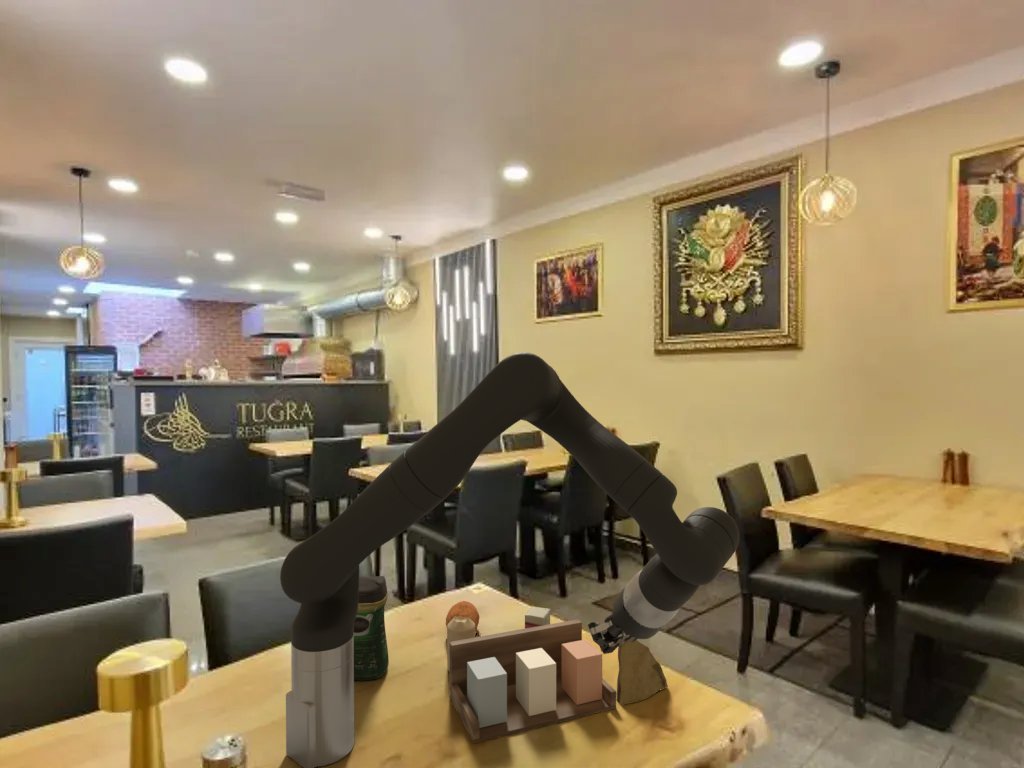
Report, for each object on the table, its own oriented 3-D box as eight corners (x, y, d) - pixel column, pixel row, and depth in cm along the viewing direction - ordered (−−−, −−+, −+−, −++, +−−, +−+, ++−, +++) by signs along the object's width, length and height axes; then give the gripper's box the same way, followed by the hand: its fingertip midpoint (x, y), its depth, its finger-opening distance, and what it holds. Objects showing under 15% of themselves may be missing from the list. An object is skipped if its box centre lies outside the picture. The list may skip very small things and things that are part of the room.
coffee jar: (391, 661, 117) (391, 570, 116) (383, 682, 109) (383, 584, 109) (343, 662, 117) (343, 570, 116) (332, 683, 109) (331, 585, 108)
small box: (531, 641, 126) (531, 605, 125) (550, 644, 124) (550, 608, 124) (524, 652, 121) (524, 614, 121) (543, 655, 119) (543, 617, 119)
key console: (616, 708, 101) (616, 651, 100) (473, 743, 91) (473, 680, 91) (578, 669, 114) (578, 619, 113) (449, 697, 104) (449, 642, 104)
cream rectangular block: (556, 709, 99) (556, 663, 99) (529, 716, 97) (529, 668, 97) (541, 691, 104) (541, 647, 104) (515, 697, 102) (515, 652, 102)
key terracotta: (602, 698, 102) (602, 653, 102) (576, 704, 100) (577, 659, 100) (585, 681, 108) (585, 639, 107) (561, 687, 106) (561, 643, 106)
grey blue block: (506, 721, 95) (506, 673, 95) (478, 728, 94) (478, 679, 93) (494, 702, 101) (494, 656, 101) (467, 708, 99) (467, 662, 99)
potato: (441, 647, 123) (441, 614, 123) (451, 621, 136) (451, 591, 136) (474, 648, 122) (474, 615, 122) (482, 622, 135) (482, 592, 135)
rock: (664, 663, 112) (612, 654, 112) (675, 641, 106) (620, 632, 107) (668, 723, 103) (612, 713, 104) (680, 702, 98) (621, 692, 98)
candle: (477, 661, 117) (477, 612, 117) (472, 676, 111) (472, 624, 111) (450, 660, 117) (450, 611, 117) (444, 674, 112) (444, 623, 112)
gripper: (674, 571, 89) (630, 619, 101) (599, 583, 85) (562, 631, 96) (697, 619, 85) (647, 663, 96) (619, 634, 80) (577, 679, 91)
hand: (604, 647), depth 96 cm, fingers closed
